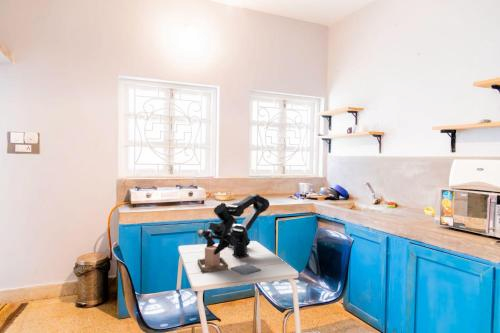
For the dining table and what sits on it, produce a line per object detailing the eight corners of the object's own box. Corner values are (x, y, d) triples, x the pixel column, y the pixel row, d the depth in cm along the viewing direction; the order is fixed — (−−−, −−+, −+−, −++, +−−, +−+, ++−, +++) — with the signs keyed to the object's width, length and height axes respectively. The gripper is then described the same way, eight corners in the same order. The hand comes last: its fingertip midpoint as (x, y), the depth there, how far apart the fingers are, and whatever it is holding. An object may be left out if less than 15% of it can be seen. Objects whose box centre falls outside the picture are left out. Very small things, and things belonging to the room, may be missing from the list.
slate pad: (247, 264, 153) (247, 263, 153) (261, 270, 145) (261, 269, 145) (230, 268, 147) (230, 267, 147) (243, 275, 139) (243, 273, 139)
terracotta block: (212, 264, 154) (212, 245, 153) (219, 266, 151) (219, 247, 150) (204, 266, 149) (204, 247, 149) (212, 268, 147) (212, 249, 146)
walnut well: (222, 261, 158) (222, 257, 158) (228, 269, 146) (228, 265, 146) (197, 263, 154) (197, 259, 154) (201, 272, 142) (201, 267, 142)
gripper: (204, 214, 158) (187, 240, 149) (233, 218, 147) (217, 247, 139) (214, 227, 165) (199, 253, 156) (243, 232, 154) (228, 260, 145)
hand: (210, 253), depth 149 cm, fingers closed on terracotta block, 5 cm apart
